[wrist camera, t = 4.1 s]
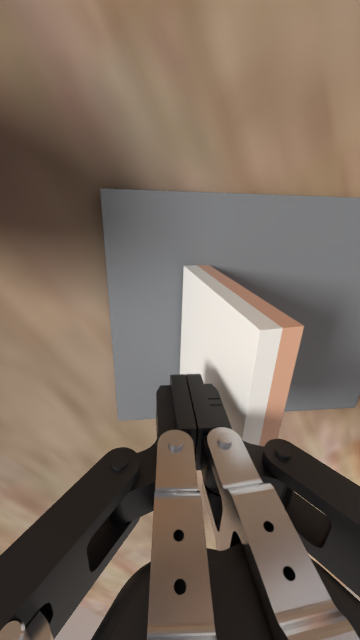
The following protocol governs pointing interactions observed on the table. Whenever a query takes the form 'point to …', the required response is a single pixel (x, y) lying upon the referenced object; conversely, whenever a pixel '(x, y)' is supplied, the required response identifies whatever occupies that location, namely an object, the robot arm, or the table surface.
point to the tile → (238, 350)
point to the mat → (245, 269)
